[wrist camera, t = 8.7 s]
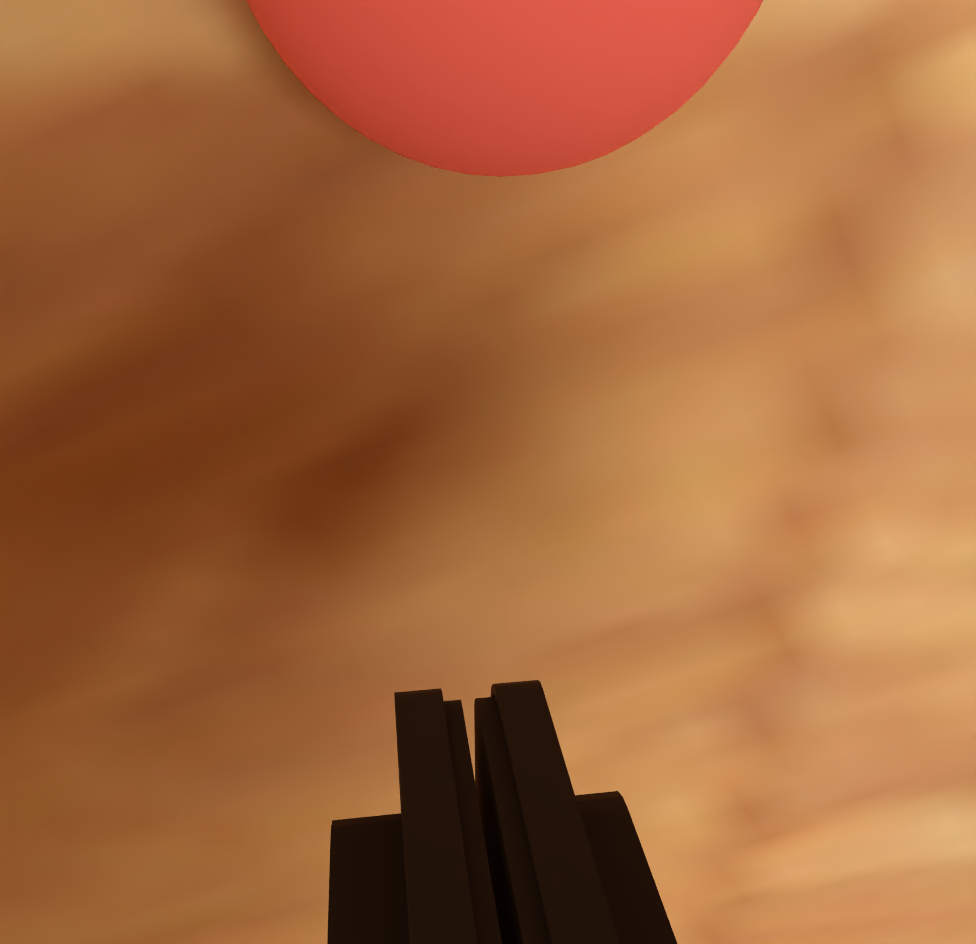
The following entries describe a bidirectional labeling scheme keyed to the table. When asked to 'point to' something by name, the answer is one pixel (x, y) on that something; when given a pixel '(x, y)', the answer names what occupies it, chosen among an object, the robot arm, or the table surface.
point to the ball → (503, 72)
